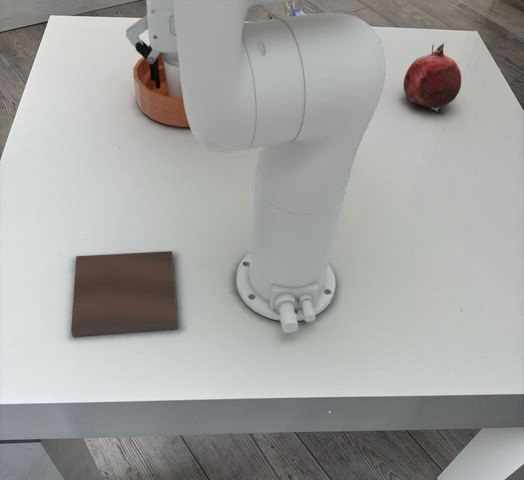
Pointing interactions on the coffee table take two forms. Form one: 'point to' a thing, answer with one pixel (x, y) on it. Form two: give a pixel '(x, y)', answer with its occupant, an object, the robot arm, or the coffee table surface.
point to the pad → (124, 294)
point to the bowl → (157, 96)
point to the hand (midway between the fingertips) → (185, 83)
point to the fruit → (433, 80)
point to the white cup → (172, 74)
